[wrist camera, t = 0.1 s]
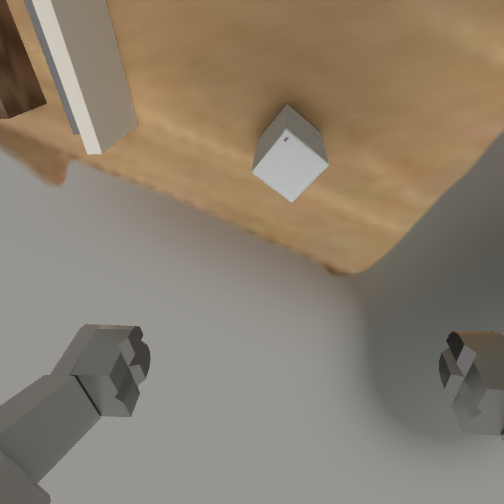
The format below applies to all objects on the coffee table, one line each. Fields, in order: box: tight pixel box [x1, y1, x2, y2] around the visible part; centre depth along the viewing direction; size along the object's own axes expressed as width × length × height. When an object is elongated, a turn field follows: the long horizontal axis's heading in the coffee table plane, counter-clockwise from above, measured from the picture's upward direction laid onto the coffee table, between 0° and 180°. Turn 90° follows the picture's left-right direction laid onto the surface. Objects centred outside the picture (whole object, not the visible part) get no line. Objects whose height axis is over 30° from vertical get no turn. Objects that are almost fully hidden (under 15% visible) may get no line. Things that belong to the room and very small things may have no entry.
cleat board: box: [24, 0, 138, 154], centre depth 43 cm, size 22×9×13 cm, turn 4°
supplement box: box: [252, 104, 329, 203], centre depth 48 cm, size 7×7×13 cm
